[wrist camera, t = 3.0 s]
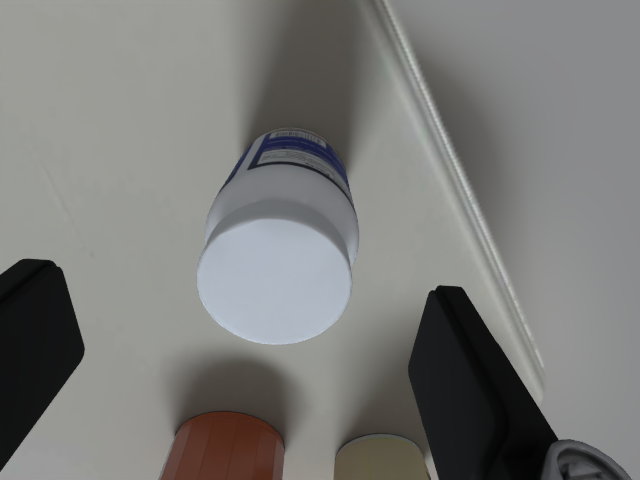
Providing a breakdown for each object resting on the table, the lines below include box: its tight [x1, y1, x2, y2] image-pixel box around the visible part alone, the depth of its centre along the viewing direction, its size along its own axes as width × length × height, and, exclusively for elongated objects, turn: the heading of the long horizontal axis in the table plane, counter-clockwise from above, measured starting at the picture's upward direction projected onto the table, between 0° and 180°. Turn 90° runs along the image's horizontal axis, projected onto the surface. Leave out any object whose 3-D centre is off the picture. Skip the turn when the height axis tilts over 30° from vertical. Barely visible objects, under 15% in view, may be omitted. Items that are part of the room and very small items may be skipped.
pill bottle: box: [196, 128, 359, 345], centre depth 15 cm, size 6×6×10 cm
